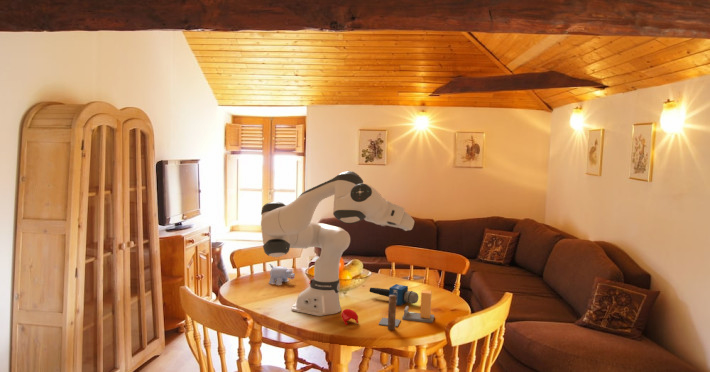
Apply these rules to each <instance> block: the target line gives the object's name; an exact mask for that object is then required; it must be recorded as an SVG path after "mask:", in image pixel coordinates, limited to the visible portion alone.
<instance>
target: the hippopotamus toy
mask: <svg viewBox="0 0 710 372" xmlns="http://www.w3.org/2000/svg"><path fill="white" fill-rule="evenodd" d="M269 265H270V268H271V269H270V272H269V273H270V274H269V275H270V277H269V281H268V284H269V285H275V286H282V285H283V283H288V282H290V280H294V279H295V278H296V277H295V276H296V274H295V273H293V271H292V269H288V268H287V267H285V266H282V265H281V266H280V265H279V266H278V265H277V266H273V265H272V264H271V263H270V264H269Z"/></svg>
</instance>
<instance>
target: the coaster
mask: <svg viewBox="0 0 710 372" xmlns="http://www.w3.org/2000/svg"><path fill="white" fill-rule="evenodd" d="M401 320H402V319H397V318H395V328H398V326H399V325H400V323H401ZM378 326H386V327H388V317H382V318H381V319H380V321H379V322H378Z"/></svg>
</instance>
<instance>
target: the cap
mask: <svg viewBox="0 0 710 372" xmlns="http://www.w3.org/2000/svg"><path fill="white" fill-rule="evenodd" d="M340 314H341V318H342V319H341V320H342V321H343V323H344V325H345V326H347V325H348V321H350V320H354V321H355V322H356V324H359V315H358V314H357V313H356V312H355V310H352V309H350V308H345V309H343V310H342V311H341V313H340Z"/></svg>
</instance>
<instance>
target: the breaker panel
mask: <svg viewBox="0 0 710 372" xmlns="http://www.w3.org/2000/svg"><path fill="white" fill-rule="evenodd" d="M409 308H410V307H409V305H406V306H405V308H404V309H403V310H404V311H403V312H404V313H403V316H402V319H401V320H403V321H405V320H406V321H412V322H422V323H429V324H433V323H434V319H435V314H431V315H430V319H429V318H421V317H420V313H421V312H420V313H419V312H415V311H409Z"/></svg>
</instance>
